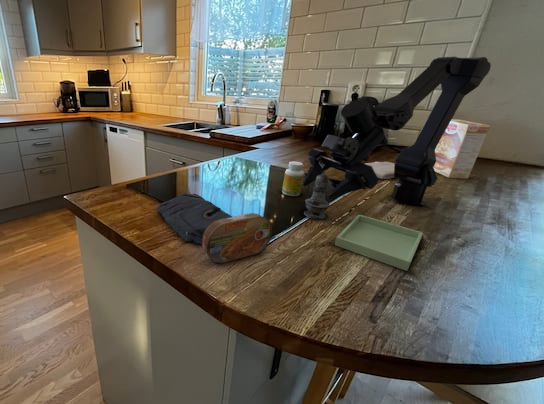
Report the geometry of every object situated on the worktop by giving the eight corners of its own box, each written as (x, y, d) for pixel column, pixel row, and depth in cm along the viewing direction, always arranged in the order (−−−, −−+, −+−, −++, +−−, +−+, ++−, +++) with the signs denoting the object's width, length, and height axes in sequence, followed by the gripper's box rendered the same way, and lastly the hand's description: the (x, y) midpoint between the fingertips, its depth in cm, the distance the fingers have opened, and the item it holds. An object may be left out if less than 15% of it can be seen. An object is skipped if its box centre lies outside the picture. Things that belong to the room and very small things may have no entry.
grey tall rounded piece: (322, 210, 81) (331, 168, 76) (330, 220, 75) (340, 175, 71) (300, 209, 81) (308, 167, 76) (306, 219, 76) (315, 174, 71)
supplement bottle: (291, 197, 89) (296, 166, 85) (278, 191, 93) (282, 161, 90) (303, 194, 91) (309, 164, 88) (290, 189, 96) (295, 160, 92)
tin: (206, 267, 56) (208, 227, 53) (198, 258, 59) (200, 220, 55) (270, 251, 62) (276, 214, 58) (261, 243, 64) (266, 208, 61)
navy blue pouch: (202, 199, 87) (202, 184, 85) (249, 233, 69) (251, 214, 67) (153, 208, 80) (152, 192, 78) (191, 248, 62) (191, 228, 60)
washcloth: (414, 175, 112) (417, 167, 111) (383, 181, 105) (385, 172, 104) (384, 167, 122) (386, 159, 121) (353, 171, 115) (355, 163, 114)
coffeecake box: (423, 166, 124) (440, 118, 116) (442, 167, 123) (460, 119, 115) (447, 177, 110) (468, 124, 102) (469, 179, 109) (491, 124, 101)
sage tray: (356, 221, 75) (358, 214, 74) (420, 240, 67) (423, 232, 66) (334, 245, 64) (336, 237, 64) (407, 271, 56) (410, 262, 55)
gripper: (319, 117, 78) (278, 161, 79) (383, 129, 62) (329, 184, 63) (336, 146, 84) (297, 186, 85) (399, 163, 68) (349, 213, 69)
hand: (315, 191), depth 75 cm, fingers open, 9 cm apart
